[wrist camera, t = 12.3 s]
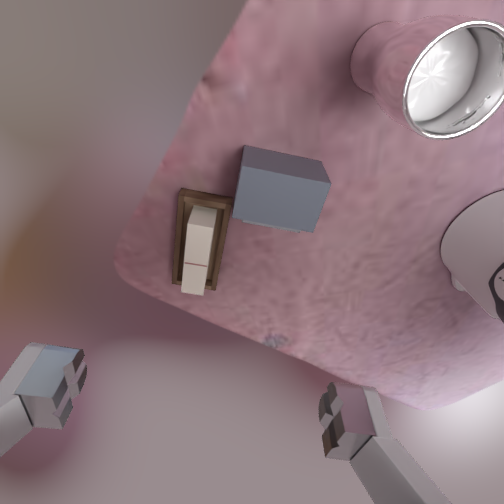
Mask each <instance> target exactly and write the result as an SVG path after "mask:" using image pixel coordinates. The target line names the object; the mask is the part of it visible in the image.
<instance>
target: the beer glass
mask: <svg viewBox="0 0 504 504" xmlns="http://www.w3.org/2000/svg"><path fill="white" fill-rule="evenodd" d="M350 70H351V75H352V78H353V80H354V82H355V84H356V85H357V86H358V87H359V88H360V89H361V90H363V91H365V92H367V93H371V94H373V96H374V98H375V100H376V102H377V103H378V105H379V106H380V108H381V109H382V110H383V111H384V112H385V113H386V114H387V115H388V116H389V117H390V118H391V119H392V120H394V121H395V122H397V123H398V124H400V125H402V126H403V127H405V128H407V129H409V130H411V131H414V132H416V133H417V134H419V135H421V136H423V137H425V138H428V139H432V140H448V139H453V138H457V137H460V136H462V135H465V134H467V133H469V132H471V131H473V130H474V129H476V128H478V127H479V126H480V125H482V124H483V123H484V122H486V121H487V120H488V119H489V118H490V117H491V116H492V115H493V114H494V113H495V112H496V111H497V110H498V109H499V107H500V106H501V105H502V103H503V102H504V26H503V25H502V24H500V23H498V22H495V21H492V20H488V19H477V18H473V17H467V16H461V15H435V16H428V17H424V18H421V19H418V20H415V21H412V22H410V23H407V24H405V25H402V24H400V23H398V22H394V21H387V22H382V23H379V24H376V25H374V26H373V27H371V28H370V29H368V30H367V31H366V32H365V33H364V34H363V35H362V36H361V37H360V39H359V40H358V42H357V43H356V45H355V47H354V49H353V52H352V56H351V61H350Z"/></svg>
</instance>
